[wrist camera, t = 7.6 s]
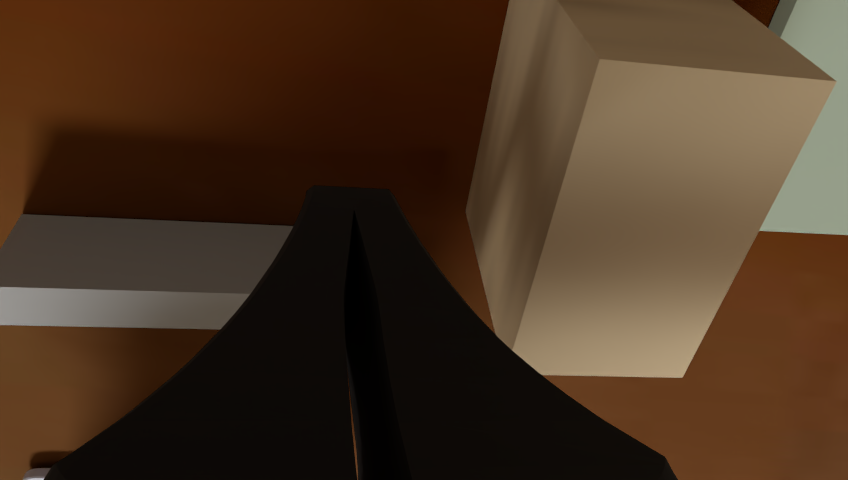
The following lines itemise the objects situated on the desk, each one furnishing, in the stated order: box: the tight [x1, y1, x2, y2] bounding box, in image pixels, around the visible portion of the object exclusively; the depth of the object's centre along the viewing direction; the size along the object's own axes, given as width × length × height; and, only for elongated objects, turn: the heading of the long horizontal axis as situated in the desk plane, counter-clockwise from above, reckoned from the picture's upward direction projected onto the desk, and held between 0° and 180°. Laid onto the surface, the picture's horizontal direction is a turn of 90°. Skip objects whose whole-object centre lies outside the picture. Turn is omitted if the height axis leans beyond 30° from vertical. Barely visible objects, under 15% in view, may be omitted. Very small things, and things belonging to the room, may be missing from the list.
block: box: [465, 0, 837, 378], centre depth 15 cm, size 7×4×6 cm, turn 172°
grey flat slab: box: [0, 214, 293, 329], centre depth 15 cm, size 11×10×3 cm
